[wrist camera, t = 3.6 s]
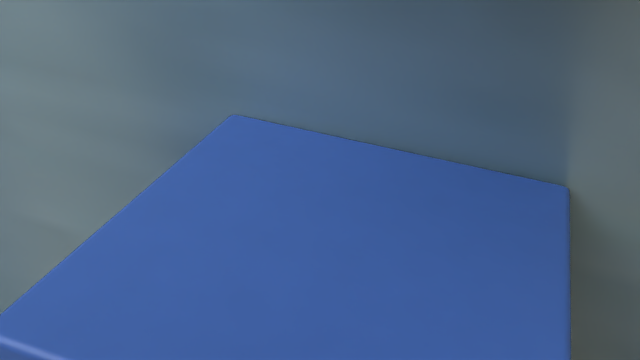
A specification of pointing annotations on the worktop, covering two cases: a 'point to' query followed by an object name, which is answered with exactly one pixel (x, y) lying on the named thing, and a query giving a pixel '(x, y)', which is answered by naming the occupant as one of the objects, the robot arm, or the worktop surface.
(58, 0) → the worktop surface
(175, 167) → the blue block
